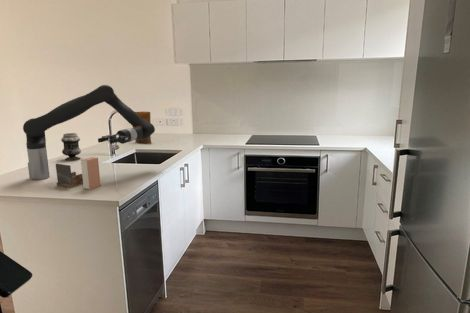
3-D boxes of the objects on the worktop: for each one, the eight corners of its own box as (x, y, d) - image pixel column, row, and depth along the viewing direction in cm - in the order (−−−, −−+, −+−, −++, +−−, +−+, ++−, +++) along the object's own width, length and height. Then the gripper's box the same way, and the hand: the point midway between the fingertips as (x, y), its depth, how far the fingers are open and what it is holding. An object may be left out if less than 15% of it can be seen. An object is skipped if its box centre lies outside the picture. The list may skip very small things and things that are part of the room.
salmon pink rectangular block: (94, 184, 177) (92, 157, 174) (100, 185, 176) (97, 157, 172) (83, 188, 171) (80, 159, 168) (89, 189, 169) (86, 160, 166)
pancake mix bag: (150, 144, 291) (148, 111, 285) (131, 143, 297) (128, 111, 291) (154, 143, 298) (152, 111, 292) (135, 142, 303) (133, 110, 297)
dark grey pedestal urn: (80, 160, 232) (78, 134, 228) (61, 161, 228) (58, 135, 224) (82, 156, 243) (80, 132, 239) (64, 158, 240) (61, 132, 236)
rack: (76, 179, 187) (74, 159, 184) (89, 181, 182) (87, 161, 180) (56, 185, 176) (54, 164, 174) (70, 188, 172) (67, 166, 169)
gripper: (116, 128, 193) (93, 133, 179) (135, 129, 187) (113, 134, 173) (118, 141, 195) (95, 147, 181) (137, 143, 189) (114, 149, 175)
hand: (104, 141), depth 177 cm, fingers open, 8 cm apart
